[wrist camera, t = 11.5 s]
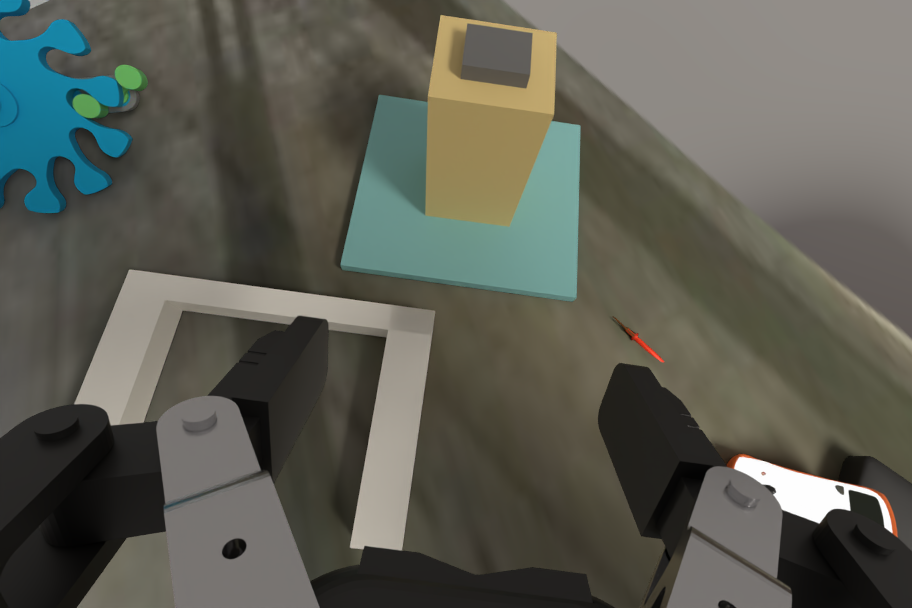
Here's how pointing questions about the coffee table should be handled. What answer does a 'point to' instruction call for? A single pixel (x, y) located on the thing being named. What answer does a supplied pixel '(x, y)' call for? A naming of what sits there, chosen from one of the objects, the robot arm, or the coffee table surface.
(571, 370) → the coffee table surface
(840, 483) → the multimeter
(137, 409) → the white u-shaped bracket
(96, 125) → the blue germ toy
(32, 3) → the hard drive
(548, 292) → the mat
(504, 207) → the plug block
